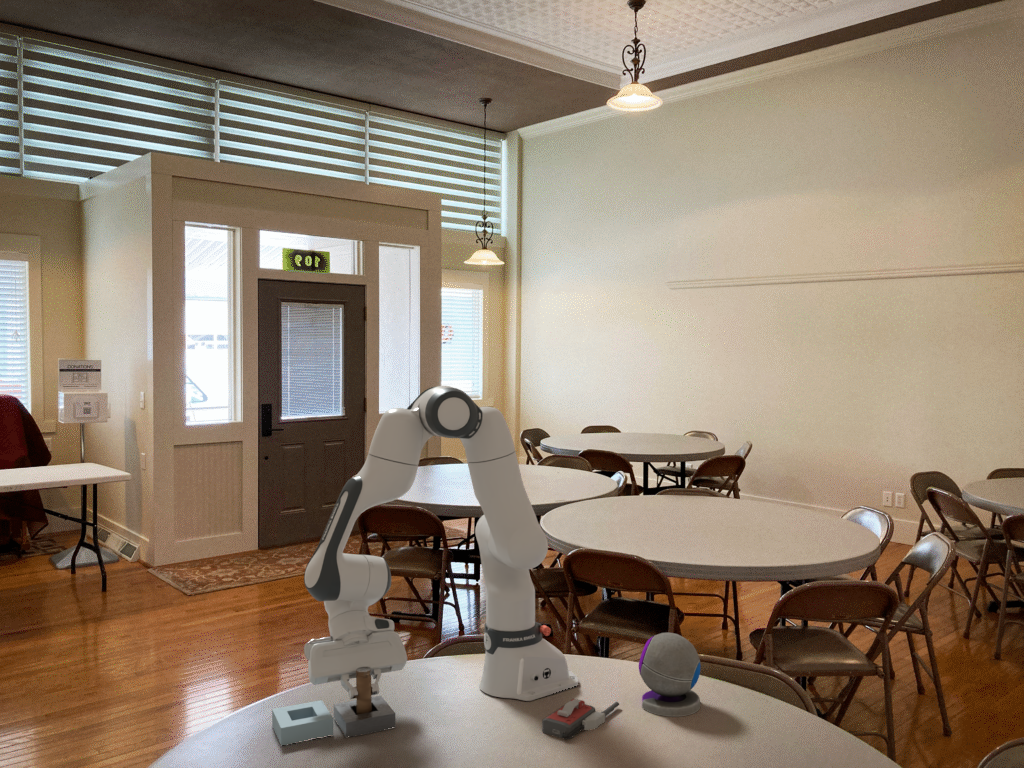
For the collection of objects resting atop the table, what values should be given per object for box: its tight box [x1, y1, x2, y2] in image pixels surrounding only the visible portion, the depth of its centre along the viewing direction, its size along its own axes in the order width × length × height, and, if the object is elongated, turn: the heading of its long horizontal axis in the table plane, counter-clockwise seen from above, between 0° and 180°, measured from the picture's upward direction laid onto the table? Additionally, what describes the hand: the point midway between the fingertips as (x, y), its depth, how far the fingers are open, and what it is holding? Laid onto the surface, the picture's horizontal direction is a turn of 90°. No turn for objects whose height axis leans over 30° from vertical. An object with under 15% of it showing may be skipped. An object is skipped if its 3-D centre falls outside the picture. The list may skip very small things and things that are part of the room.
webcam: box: [638, 632, 701, 717], centre depth 175 cm, size 13×13×15 cm
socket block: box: [333, 695, 397, 738], centre depth 167 cm, size 10×10×3 cm
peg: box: [355, 667, 372, 715], centre depth 167 cm, size 3×3×11 cm
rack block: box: [271, 699, 334, 746], centre depth 163 cm, size 10×10×4 cm
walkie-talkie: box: [541, 698, 620, 740], centre depth 167 cm, size 9×4×20 cm
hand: (364, 695), depth 166 cm, fingers closed on peg, 3 cm apart
